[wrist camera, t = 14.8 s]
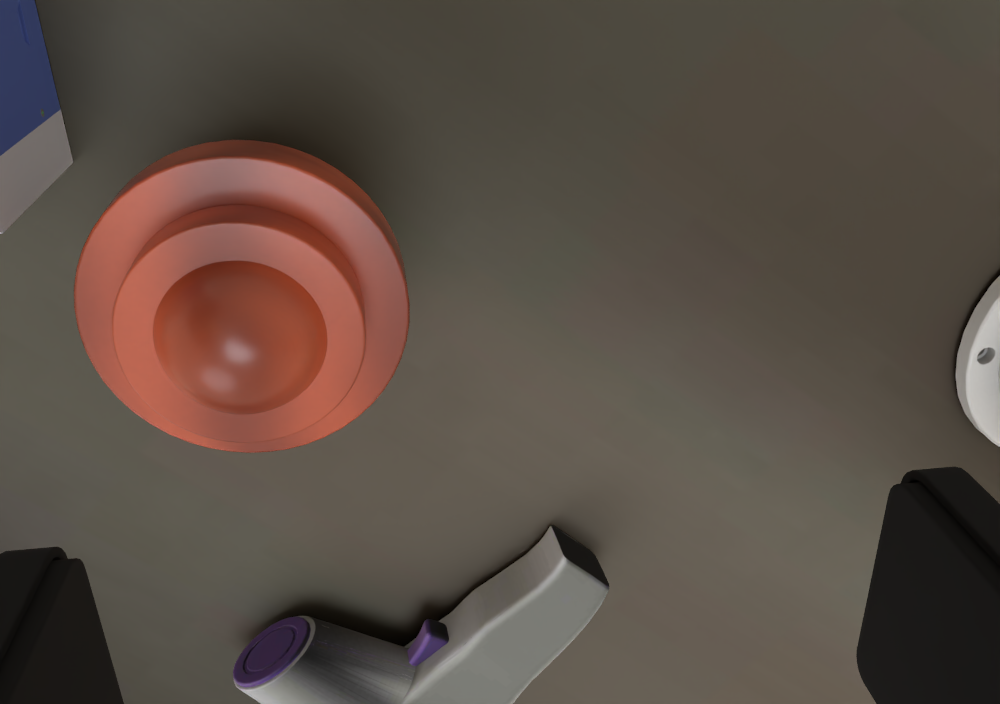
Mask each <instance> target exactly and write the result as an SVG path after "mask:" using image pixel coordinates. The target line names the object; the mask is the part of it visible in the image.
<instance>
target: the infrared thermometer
mask: <svg viewBox="0 0 1000 704" xmlns="http://www.w3.org/2000/svg"><path fill="white" fill-rule="evenodd" d="M608 591H609V583H608V581H607V579H606V577H605V574H604V572H603V570H602V568H601V566H600V564H599V562H598V560H597V558H596V556H595V555H594V554H593V553H592V552H591V551H590V550H588V549H587V548H586V547H584V546H583V545H581V544H580V543H579V542H577V541H576V540H574V539H573V538H571V537H570V536H568V535H567V534H565V533H564V532H562V531H561V530H559V529H558V528H556V527H555V526H553V525H551V526H550V527H549V529H548V530H547V532H546V534H545V535H544V536H543V538H542V539H541V540H540V541H539V542H538V543H537V544H536V545H535V546H534V547H533V548H532V549H531V550H530V551H529V552H528V553H527V554H526V555H524V556H523V557H522V558H520V559H519V560H517V561H516V562H514V563H513V564H512V565H510V566H509V567H507V568H506V569H504V570H503V571H502V572H500V573H499V574H497V575H496V576H494V577H493V578H491V579H490V580H488V581H487V582H485V583H484V584H482V585H481V586H479V587H478V588H476V589H475V590H474V591H472V592H471V593H470V594H469V595H468V596H467V597H466V598H465V599H464V600H463V601H462V602H461V603H460V604H459V605H458V606H457V607H456V608H455V609H454V610H453V611H452V612H451V613H450V614H448V615H447V616H445V617H444V618H442V619H441V620H440V621H435V620H431V619H427V620H425V621H424V623H423V626H422V628H421V630H420V632H419V634H418V636H417V637H416V638H415V639H414V640H413V641H411V642H410V643H409V644H408V645H406V646H405V647H403V646H399V645H396V644H393V643H390V642H387V641H384V640H381V639H378V638H374V637H371V636H368V635H365V634H362V633H359V632H356V631H353V630H350V629H347V628H344V627H341V626H337V625H334V624H331V623H328V622H325V621H322V620H319V619H316V618H313V617H309V616H296V617H289V618H286V619H283V620H280V621H278V622H277V623H275V624H273V625H271V626H269V627H268V628H267V629H265V630H264V631H262V632H261V633H260V634H259V635H258V636H256V637H255V638H254V639H253V640H252V641H251V642H250V643H249V644H248V645H247V646H246V648H245V649H244V650H243V652H242V653H241V654H240V656H239V658H238V659H237V661H236V663H235V666H234V670H233V677H234V683H235V685H236V687H237V688H238V689H240V690H241V691H243V692H244V693H246V694H247V695H249V696H250V697H252V698H253V699H255V700H257V701H258V702H259V703H261V704H513V702H514V701H515V700H516V699H517V697H518V696H519V695H520V694H521V693H522V691H523V690H524V689H525V688H526V687H527V686H528V684H529V683H530V682H531V681H532V680H533V679H534V678H535V677H536V676H537V675H538V674H539V673H540V672H541V671H543V670H544V669H545V668H546V667H547V666H548V665H549V664H550V663H551V662H552V661H553V660H554V659H555V658H556V657H557V656H558V655H559V654H560V653H561V652H562V651H563V650H564V649H565V648H566V647H567V646H568V645H569V644H570V643H571V642H572V641H573V640H574V638H575V637H576V636H577V635H578V634H579V633H580V632H581V630H582V629H583V628H584V627H585V626H586V625H587V624H588V622H589V621H590V620H591V618H592V617H593V616H594V614H595V613H596V611H597V610H598V608H599V607H600V606H601V604H602V602H603V600H604V599H605V597H606V595H607V593H608Z"/></svg>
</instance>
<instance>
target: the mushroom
mask: <svg viewBox="0 0 1000 704" xmlns="http://www.w3.org/2000/svg"><path fill="white" fill-rule="evenodd" d="M74 308H75V314H76V320H77V325H78V330H79V333H80V336H81V339H82V342H83V345H84V348H85V350H86V352H87V354H88V356H89V358H90V360H91V362H92V364H93V366H94V367H95V369H96V370H97V372H98V373H99V375H100V376H101V378H102V379H103V381H104V382H105V384H106V385H107V386H108V387H109V388H110V389H111V391H112V392H113V393H114V394H115V395H116V396H117V397H118V398H119V399H120V400H121V401H122V402H123V403H124V404H125V405H126V406H127V407H129V408H130V409H131V410H132V411H133V412H134V413H136V414H137V415H139V416H140V417H141V418H143V419H144V420H146V421H147V422H148V423H150V424H151V425H153V426H155V427H157V428H159V429H161V430H162V431H164V432H166V433H168V434H170V435H173V436H175V437H177V438H180V439H182V440H185V441H187V442H190V443H194V444H197V445H201V446H204V447H207V448H213V449H218V450H224V451H233V452H247V453H250V452H270V451H277V450H284V449H290V448H293V447H297V446H301V445H305V444H308V443H311V442H313V441H316V440H318V439H321V438H324V437H326V436H328V435H330V434H332V433H333V432H335V431H337V430H339V429H341V428H343V427H344V426H345V425H347V424H348V423H350V422H351V421H353V420H354V419H356V418H357V417H358V416H359V415H360V414H361V413H363V412H364V411H365V410H366V409H367V408H368V407H369V406H370V405H371V404H372V403H373V402H374V401H375V400H376V399H377V397H378V396H379V395H380V394H381V393H382V392H383V390H384V389H385V387H386V386H387V384H388V383H389V381H390V380H391V378H392V377H393V375H394V373H395V371H396V369H397V366H398V364H399V362H400V360H401V358H402V354H403V351H404V348H405V344H406V341H407V335H408V328H409V297H408V289H407V282H406V275H405V268H404V262H403V259H402V255H401V252H400V248H399V245H398V243H397V240H396V238H395V236H394V234H393V231H392V229H391V227H390V225H389V224H388V222H387V221H386V219H385V217H384V216H383V214H382V212H381V211H380V210H379V208H378V207H377V206H376V205H375V203H374V202H373V201H372V200H371V198H370V197H369V196H368V195H367V194H366V193H365V192H364V191H363V190H362V189H361V188H360V187H359V186H358V185H357V184H356V183H355V182H354V181H352V180H351V179H350V178H348V177H347V176H346V175H344V174H343V173H342V172H340V171H339V170H338V169H336V168H335V167H333V166H331V165H329V164H327V163H326V162H324V161H322V160H320V159H319V158H317V157H314V156H312V155H310V154H307V153H305V152H302V151H300V150H297V149H294V148H290V147H287V146H283V145H279V144H276V143H270V142H262V141H255V140H223V141H215V142H207V143H203V144H199V145H195V146H191V147H187V148H184V149H182V150H179V151H177V152H174V153H172V154H169V155H167V156H165V157H163V158H161V159H160V160H158V161H156V162H154V163H153V164H151V165H149V166H148V167H146V168H145V169H144V170H142V171H141V172H140V173H139V174H137V175H136V176H135V177H133V178H132V179H131V180H130V181H129V182H128V183H127V184H126V185H125V186H124V188H123V189H122V190H121V191H120V192H119V193H118V194H117V195H116V197H115V198H114V199H113V201H112V202H111V203H110V205H109V206H108V207H107V209H106V210H105V211H104V213H103V214H102V216H101V217H100V218H99V220H98V221H97V223H96V224H95V226H94V227H93V229H92V230H91V232H90V234H89V236H88V238H87V240H86V242H85V245H84V247H83V249H82V252H81V255H80V259H79V262H78V266H77V270H76V277H75V285H74Z"/></svg>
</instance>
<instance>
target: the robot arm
mask: <svg viewBox="0 0 1000 704" xmlns="http://www.w3.org/2000/svg"><path fill="white" fill-rule="evenodd" d="M955 377H956V385H957V392H958V397H959V400H960V402H961V405H962V408H963V410H964V413H965V414H966V416H967V417H968V418H969V420H970V421H971V422H972V424H973V425H974V426H975V428H977V429H978V430H979V431H980V432H981V433H982V434H984V435H985V436H986V437H987V438H988V439H989V440H990V441H991V442H993V443H994V444H996V445H997V446H999V447H1000V276H999V277H998V278H997V279H996V280H995V281H994V282H993V283H992V284H991V286H990V287H989V288H988V290H987V291H986V293H985V294H984V296H983V297H982V299H981V300H980V302H979V303H978V305H977V306H976V308H975V309H974V312H973V314H972V316H971V318H970V320H969V322H968V324H967V326H966V328H965V330H964V333H963V336H962V340H961V343H960V347H959V350H958V354H957V364H956V375H955ZM857 664H858V669H859V672H860V675H861V678H862V680H863V682H864V684H865V686H866V687H867V689H868V690H869V692H870V694H871V695H872V697H873V699H874V700H875V702H876V703H877V704H1000V504H999V503H998V502H997V501H996V500H995V499H994V498H993V497H992V496H991V495H990V494H989V493H988V492H987V491H986V490H985V489H984V488H983V487H982V486H981V485H980V484H979V483H978V482H977V481H975V480H974V479H973V478H972V477H971V476H970V475H969V474H968V473H967V472H966V471H964V470H963V469H962V468H958V467H945V468H934V469H923V470H912V471H910V472H907V473H906V474H905V476H904V477H903V479H902V481H901V484H896V485H894V486H893V487H892V488H891V490H890V493H889V496H888V501H887V505H886V510H885V515H884V520H883V525H882V530H881V535H880V539H879V544H878V549H877V554H876V559H875V564H874V569H873V574H872V578H871V583H870V588H869V593H868V598H867V603H866V608H865V613H864V617H863V622H862V627H861V632H860V637H859V642H858V647H857ZM0 704H124V703H123V699H122V696H121V692H120V689H119V685H118V682H117V678H116V674H115V671H114V667H113V664H112V660H111V657H110V653H109V650H108V646H107V643H106V639H105V636H104V632H103V629H102V625H101V622H100V618H99V615H98V611H97V608H96V604H95V601H94V597H93V594H92V590H91V587H90V583H89V580H88V576H87V573H86V569H85V567H84V564H83V562H82V561H81V560H80V559H77V558H75V559H68V558H67V556H66V553H65V552H64V551H63V550H62V548H59V547H49V548H37V549H26V550H15V551H6V552H3V553H1V554H0Z"/></svg>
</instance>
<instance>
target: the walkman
mask: <svg viewBox="0 0 1000 704" xmlns="http://www.w3.org/2000/svg"><path fill="white" fill-rule="evenodd" d="M72 163H73V159H72V155H71V150H70V146H69V142H68V138H67V133H66V129H65V125H64V121H63V116H62V112H61V109H60V105H59V101H58V97H57V92H56V88H55V84H54V80H53V76H52V71H51V67H50V63H49V59H48V55H47V50H46V46H45V42H44V38H43V34H42V29H41V25H40V21H39V17H38V13H37V8H36V4H35V0H0V234H1V233H4V232H5V231H6V230H7V229H8V228H9V227H10V226H11V225H12V224H13V223H14V222H15V221H16V220H17V219H18V218H19V217H20V216H21V215H22V214H23V213H24V212H25V211H26V210H27V209H28V208H29V207H30V206H31V205H32V204H33V203H34V202H35V201H36V200H37V199H38V198H39V197H40V196H41V195H42V194H43V193H44V192H45V191H46V190H47V189H48V188H49V187H50V186H51V185H52V184H53V183H54V182H55V181H56V180H57V179H58V178H59V177H60V176H61V174H62V173H63V172H64V171H65V170H66V169H67V168H68V167H69V166H70V165H71V164H72Z"/></svg>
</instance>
